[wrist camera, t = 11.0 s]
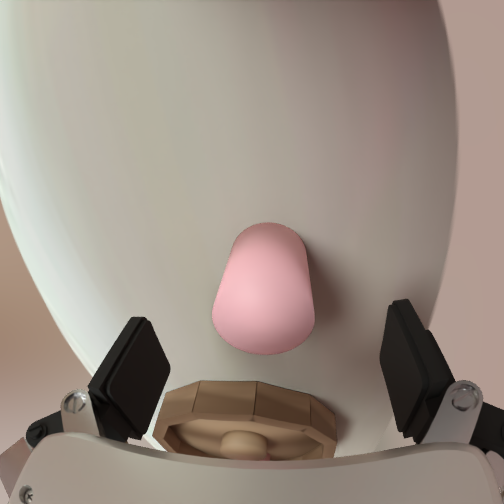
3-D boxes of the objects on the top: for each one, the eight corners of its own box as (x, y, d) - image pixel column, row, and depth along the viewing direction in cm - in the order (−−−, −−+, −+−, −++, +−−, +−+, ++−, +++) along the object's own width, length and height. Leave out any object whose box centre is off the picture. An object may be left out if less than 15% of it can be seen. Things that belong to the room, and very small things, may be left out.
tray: (134, 375, 20) (122, 402, 18) (340, 375, 18) (344, 409, 15) (192, 451, 27) (187, 470, 25) (327, 453, 25) (328, 474, 22)
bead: (224, 226, 13) (201, 282, 9) (303, 218, 13) (313, 273, 9) (238, 290, 15) (224, 355, 11) (308, 285, 14) (315, 351, 10)
